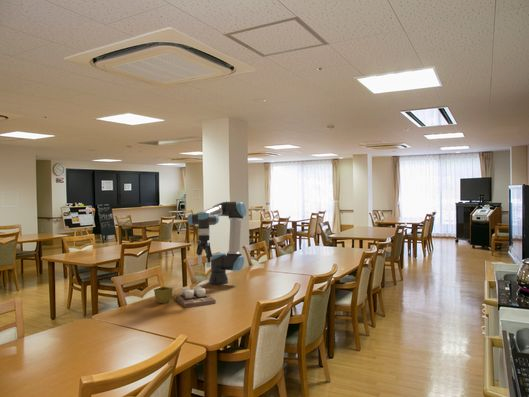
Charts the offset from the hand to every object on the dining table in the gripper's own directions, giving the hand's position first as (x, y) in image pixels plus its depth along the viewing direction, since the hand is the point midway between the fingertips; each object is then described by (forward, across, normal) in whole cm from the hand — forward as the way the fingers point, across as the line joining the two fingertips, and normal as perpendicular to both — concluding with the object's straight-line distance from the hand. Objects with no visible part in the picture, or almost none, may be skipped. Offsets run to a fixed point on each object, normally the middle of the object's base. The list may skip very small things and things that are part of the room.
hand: (204, 265), depth 267 cm
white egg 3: (+18, +6, -5) cm, 20 cm away
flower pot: (+22, -5, -27) cm, 35 cm away
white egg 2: (+18, -2, -4) cm, 19 cm away
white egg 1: (+18, -3, -12) cm, 22 cm away
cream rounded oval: (+18, +5, -13) cm, 23 cm away
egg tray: (+22, +4, -9) cm, 24 cm away
